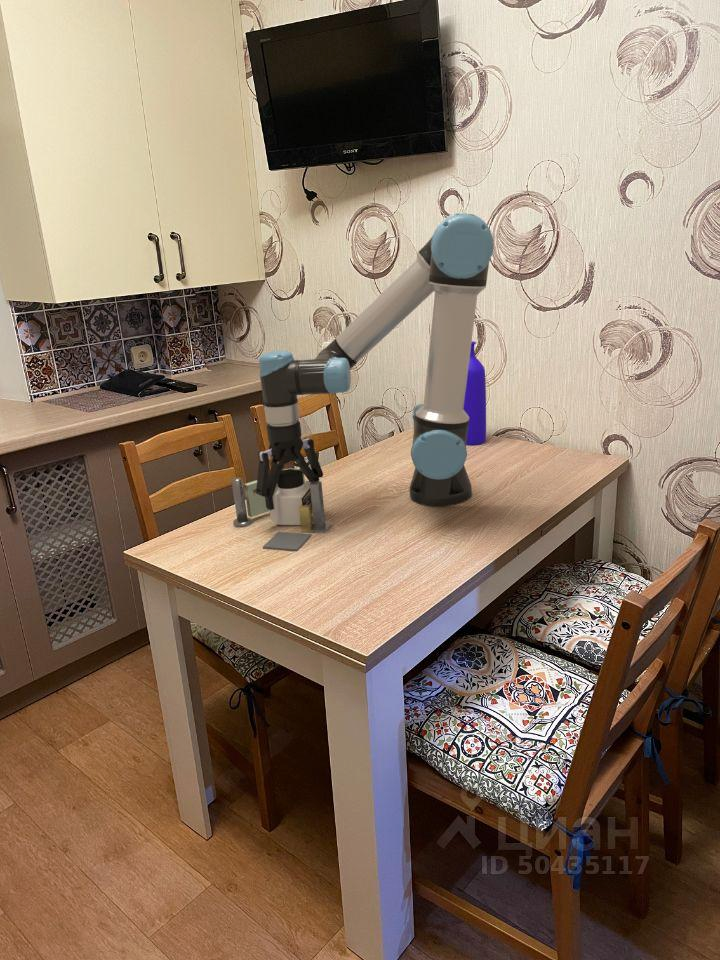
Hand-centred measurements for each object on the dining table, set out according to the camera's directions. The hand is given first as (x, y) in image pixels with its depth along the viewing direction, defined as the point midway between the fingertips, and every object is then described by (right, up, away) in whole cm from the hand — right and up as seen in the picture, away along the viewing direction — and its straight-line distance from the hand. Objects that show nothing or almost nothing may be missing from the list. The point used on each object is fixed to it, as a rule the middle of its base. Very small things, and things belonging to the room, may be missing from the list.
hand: (294, 514), depth 165 cm
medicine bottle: (0, -1, 0) cm, 1 cm away
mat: (0, -5, -11) cm, 12 cm away
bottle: (+49, +19, +49) cm, 72 cm away
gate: (-5, +1, +7) cm, 8 cm away
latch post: (+6, -3, -5) cm, 9 cm away
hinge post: (-12, -2, +1) cm, 12 cm away
